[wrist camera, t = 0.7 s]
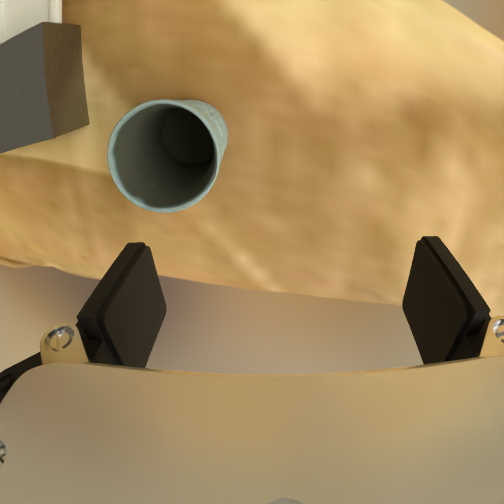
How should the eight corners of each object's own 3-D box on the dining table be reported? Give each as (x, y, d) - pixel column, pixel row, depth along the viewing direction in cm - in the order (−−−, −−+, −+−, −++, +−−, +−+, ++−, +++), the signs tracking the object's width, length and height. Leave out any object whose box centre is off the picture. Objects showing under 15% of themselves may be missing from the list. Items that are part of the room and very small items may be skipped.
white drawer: (-2, -6, 22) (-27, -7, 17) (73, -49, 20) (50, -57, 16) (-3, 68, 29) (-28, 73, 24) (72, 34, 27) (45, 33, 23)
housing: (0, 61, 29) (-37, 68, 22) (80, 25, 28) (42, 21, 21) (11, 144, 36) (-24, 161, 29) (89, 124, 35) (53, 138, 28)
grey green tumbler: (145, 160, 37) (100, 195, 27) (164, 82, 32) (119, 88, 22) (221, 183, 38) (200, 228, 28) (248, 105, 33) (235, 118, 23)
